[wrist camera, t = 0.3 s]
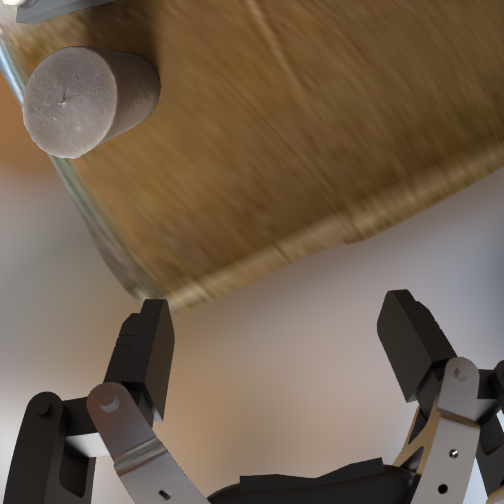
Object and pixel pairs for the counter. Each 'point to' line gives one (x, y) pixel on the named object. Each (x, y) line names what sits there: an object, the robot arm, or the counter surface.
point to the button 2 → (14, 2)
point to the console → (51, 9)
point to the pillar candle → (87, 98)
